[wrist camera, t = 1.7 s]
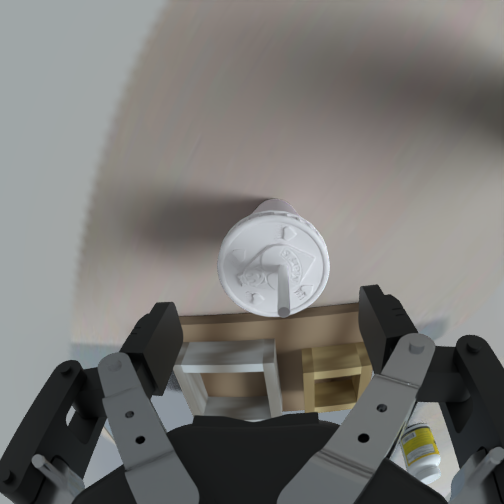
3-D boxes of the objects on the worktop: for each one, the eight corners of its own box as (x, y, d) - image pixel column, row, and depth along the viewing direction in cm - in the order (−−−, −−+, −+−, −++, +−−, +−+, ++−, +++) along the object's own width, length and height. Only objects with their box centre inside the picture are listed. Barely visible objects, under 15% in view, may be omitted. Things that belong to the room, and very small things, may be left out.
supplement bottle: (424, 437, 37) (438, 482, 28) (395, 444, 38) (406, 492, 29) (433, 419, 35) (450, 467, 26) (402, 426, 36) (416, 478, 27)
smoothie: (321, 242, 26) (356, 349, 13) (252, 263, 28) (230, 378, 15) (299, 172, 24) (325, 224, 11) (226, 197, 25) (172, 271, 12)
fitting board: (375, 300, 28) (390, 330, 23) (364, 393, 33) (372, 424, 29) (177, 316, 31) (162, 347, 26) (207, 403, 36) (199, 433, 31)
